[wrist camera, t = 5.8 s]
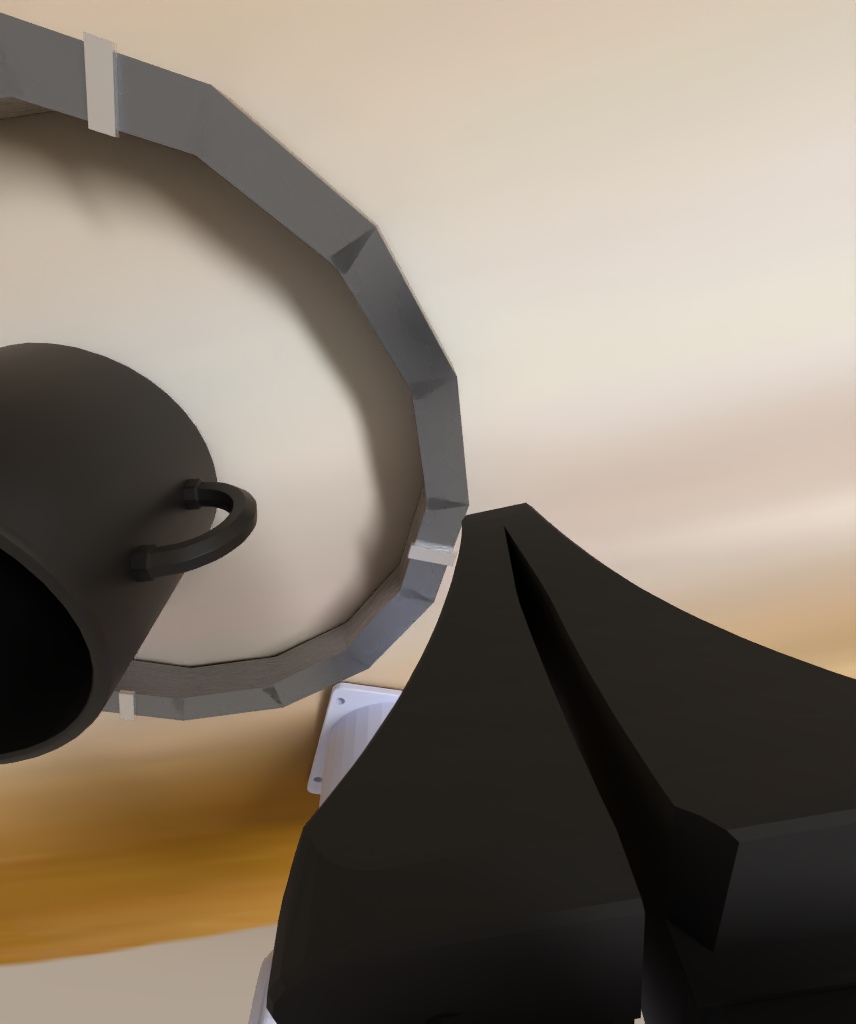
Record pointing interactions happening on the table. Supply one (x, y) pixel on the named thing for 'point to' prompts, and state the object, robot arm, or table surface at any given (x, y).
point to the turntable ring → (374, 284)
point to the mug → (92, 532)
